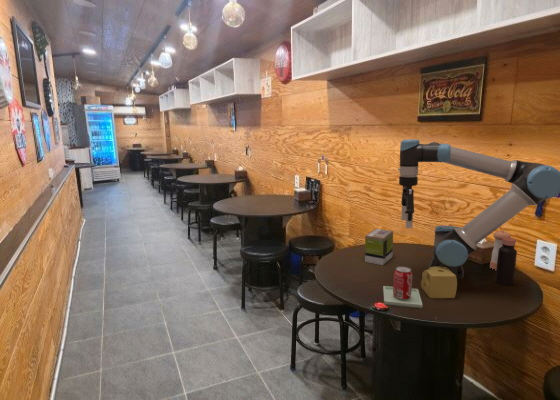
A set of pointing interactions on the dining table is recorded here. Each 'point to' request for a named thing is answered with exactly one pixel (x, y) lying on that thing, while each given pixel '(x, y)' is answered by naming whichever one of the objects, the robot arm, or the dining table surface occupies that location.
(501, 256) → the bottle
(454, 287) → the cheese
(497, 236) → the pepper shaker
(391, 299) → the tray
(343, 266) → the dining table surface
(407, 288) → the soda can
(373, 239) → the tea box
